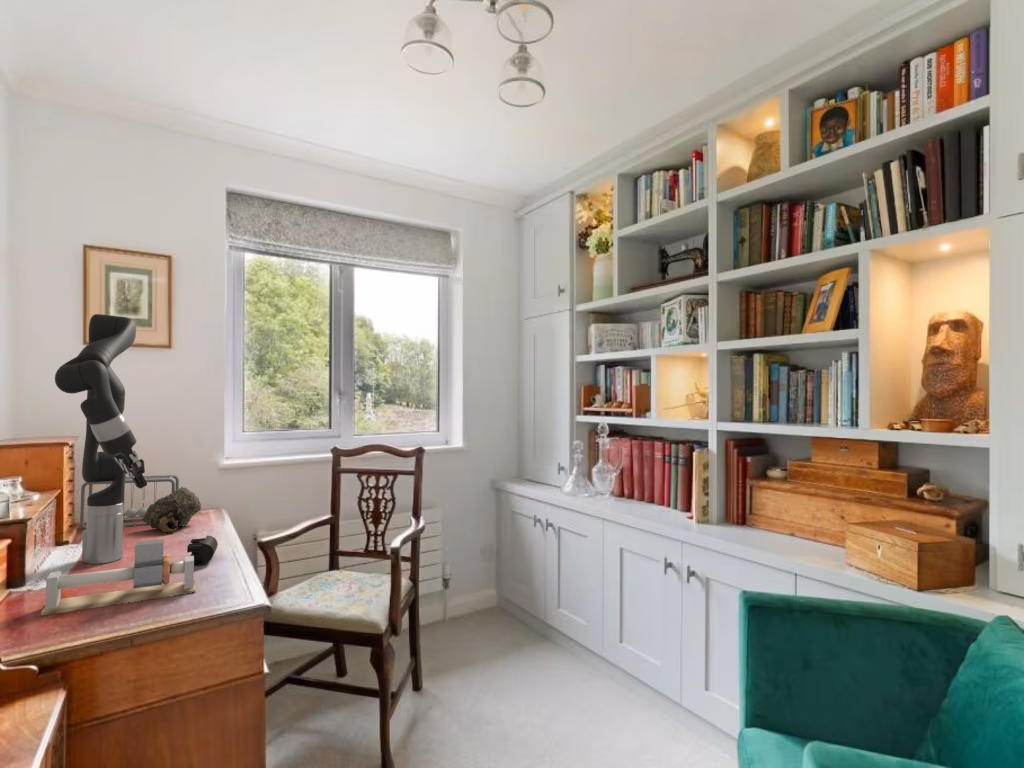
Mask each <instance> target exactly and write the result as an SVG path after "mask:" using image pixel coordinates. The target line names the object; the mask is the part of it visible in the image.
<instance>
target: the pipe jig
mask: <svg viewBox="0 0 1024 768" xmlns="http://www.w3.org/2000/svg"><path fill="white" fill-rule="evenodd" d="M194 570H195V566H194V556H190V555H189V556H188V555H187V556H185V557H184V560H181V561H173V562H170V575H177V574H183V573H184V577H183V578H184V580H183V582H184V589H191V588H193V581H194V577H195V576H194V572H195V571H194ZM45 580H46V584H45V605H44V607H45V610H46V609H52V608H57V606H58V604H59V602H60V599H62V598H61V592H62V590H63V589H71V588H78V587H84V586H85V587H86V586H93V585H94V586H95V585H101V584H107V583H117V582H123V581H130V580H134V566H130V567H124V568H123V567H122V568H115V569H105V570H99V571H90V572H84V573H83V572H82V573H75V574H74V573H73V574H66V575H62V571H61V570H60V571H52V572H50V573H49V575H47V577H46V579H45Z"/></svg>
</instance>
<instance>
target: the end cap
mask: <svg viewBox="0 0 1024 768" xmlns="http://www.w3.org/2000/svg"><path fill="white" fill-rule="evenodd" d="M205 536H206V537H203V538H202V537H201V538H192V539H191V540H190V543H188V545H187V546H186V547H187V549H186V553H188V554H189V553H191V554H190V555H189V556H194V567H201V565H202V566H205V565H207V564H208V563H209V562H210V561H211V560H212V559H213V558H214V555H215V553H216V550H217V548H218V545H219V544H218V541H217V539H216V538H215V537H214V536H212V535H205Z"/></svg>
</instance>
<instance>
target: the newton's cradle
mask: <svg viewBox="0 0 1024 768" xmlns="http://www.w3.org/2000/svg"><path fill="white" fill-rule="evenodd" d="M143 477H144V479H145V480H146V482H147V483H153V485H154V486H153V489H154V491H153V493H154V495H153V497H154V501H153V502H154V503H155V502H156V501H157V495H156V489H157V487H158V485H157V484H158V483H159V482H160V483H161V482H162V483H163V482H167V483H168V482H170V483H171V493H173V492H175V491H176V489H179V488H180V479H179V477H178V476H177V475H175V474H165V475H143ZM111 484H112V481H107V482H91V483H88V482H84V483H83V484H82V485H81V489H80V514H79V515H80V517H79V524H80V527H81V528H82V529H83V530H86V526H87V525H86V524H85V507H86V506H85V505H86V503H85V501H86V499H85V497H86V487H87V486H88V496H89V495H91V494H93V489H94V487H93V486H94V485H111ZM125 484H133V487H132V488H130V499H131V500H130V501H131V504H130V508H128V509H127V510H125V509H124V517H125V516H126V517H127V518H124V521H129V522H133V521H132V520H143V517H144V516H145V514H146V511H147V509H148V508H147V507H145V504H142V507H140V508H139V509H138V510H137V508H135V507H133V503H134V497H133V492H134V489H135V483H134V481H133V480H132V478H131V477H130V476H125ZM145 493H146V490H143V499H145V497H146V495H145ZM154 503H153V504H154ZM137 515H138V516H139V517H137ZM136 517H137V518H136ZM134 525H145V526H147V525H146V523H145V522H134V523H124V526H130V527H135V526H134Z"/></svg>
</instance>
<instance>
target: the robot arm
mask: <svg viewBox="0 0 1024 768" xmlns="http://www.w3.org/2000/svg"><path fill="white" fill-rule="evenodd" d="M136 326H137V325H136V322H135V321H134V320H133V319H132V318H130V317H126V316H119V315H118V316H117V315H110V314H103V313H102V314H100V313H98V314H97V313H95V314H93V315H92V316H91V317H90V319H89V324H88V344H87V345H86V346H85V347H84V348H82V350H81V351H80V352H79V353H78V355H77V356H76V357H74V358H71V359H70V360H68V361H67V362H65V363H64V364H62V365H61V366H59V368H57V370H56V372H55V375H54V383H55V385H56V387H57V388H58V389H59V390H60V391H62V392H63V393H66V394H79V393H83V392H85V391H86V399H84V400H83V401H82V402H81V403H80V404H79V405H80V407H79V408H80V409H81V412H82V413H83V415H84V417H85V418H86V422H85V423H86V425H85V427H86V428H85V430H86V431H85V439H84V447H83V455H82V456H83V457H82V466H81V476H82V480H83V481H84V483H86V482H88V483H91V482H107V481H112V484H109V485H108V486H106V487H105V488H103V489H102V490H99V491H97V492H94V493H93V492H92V494H91V495H89V494H88V497H86V498H87V499H86V500H87V501H86V525H85V526H86V529H83V530H82V543H81V545H82V550H81V563H86V564H89V565H90V564H91V565H96V564H97V565H98V564H107V563H112V562H116V561H118V560H120V559H123V557H124V556H123V555H124V554H123V553H124V528H125V527H124V524H125V522H124V519H125V516H124V510H125V486H126V483H125V477H131V478H132V479H131V480H133V481H134V483H133V484H134V486H135V487H136V488H138V489H144V488H146V486H147V485H148V482H146V480H145V479H144V477H143V476H144V475H143V474H145V473H146V471H145V461H144V460H143V459H142V458H140V459H139V458H138V457H139V456H138V453H137V452H136V451H135V450H133V447H134V446H135V445H136V443H137V438H136V437H135V436H134V434H133V432H132V430H131V427H130V425H129V424H128V422H127V420H126V419H125V417H124V415H123V413H124V411H125V404H126V403H125V402H126V389H125V386H124V384H123V382H122V380H120V378H119V377H118V375H117V374H116V373H115V371H114V369H112V366H111V364H112V362H113V361H114V360H115V359H116V358H117V357H119V355H121V354H123V353H124V352H125V351H126V350H128V349H129V348H131V347H132V345H133V343H134V341H136V335H137V327H136ZM99 446H100V448H101V449H102V451H98V450H99ZM126 475H127V476H126Z"/></svg>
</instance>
